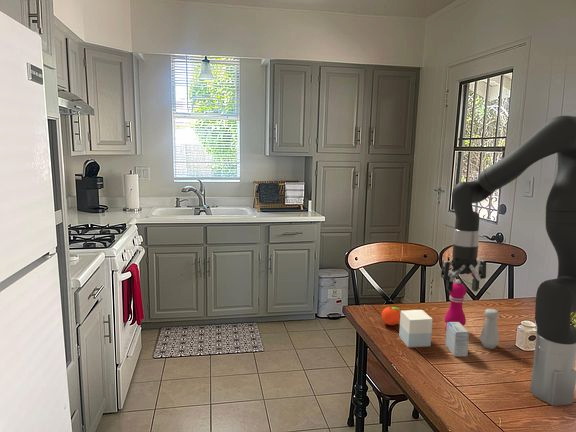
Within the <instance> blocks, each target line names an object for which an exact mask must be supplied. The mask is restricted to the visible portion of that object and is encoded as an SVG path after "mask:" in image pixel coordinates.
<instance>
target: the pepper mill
mask: <svg viewBox="0 0 576 432" xmlns="http://www.w3.org/2000/svg"><path fill="white" fill-rule="evenodd" d="M448 294H449V298H448V299H449V301H450V304H449V307H448V310H447V311H446V313H445V316H444V322H445V325H444V327H445V328H444V330H445V331H446V328H447V322H460V324H461V325H462V326H463V327H464V326H465V325H466V324H467V323H466V315H465V312H464V310H463V303H464V302H465V297H464V296H466V294H467V288H466V286H465V285H464V284H463V283H461V279H455V282H453V292H449V291H448Z"/></svg>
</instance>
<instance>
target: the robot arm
mask: <svg viewBox="0 0 576 432" xmlns="http://www.w3.org/2000/svg"><path fill="white" fill-rule="evenodd" d="M554 154H557V171H556V176H555V179H554V182H553V185H552V186H551V189H550V190H549V193H548V197H547V200H546V205H545V230H546V233H547V236H548V238H549V240H550V242H551V244H552V246H553V248H554V250H555V253H556V255H557V261H558V262H557V263H558V264H557V265H558V266H557V278H552V279H548V280H544V281H543V282H541V283H540V285H539V286H538V287H537V291H536V293H535V294H536V295H535V305H534V306H535V307H534V308H535V310H534V320H535V325H536V336H535V345H534V354H533V362H532V369H531V370H532V371H531V378H530V379H531V380H530V388H529V389H530V392H531V394H532V395H534V397H536V398H537V399H539V400H541V401H543V402H545V403H548V404H550V405H551V406H563V405H564V406H565V405H573V404H574V397H575V391H576V390H575V389H576V369H575V364H576V327H575V326H573V325H571V317H572V316H571V315H572V314H573V313H576V116H574V115H573V116H572V115H558V116H555V117H552V118H551V119H550V120H549V121H547V122H546V123H545V124H543V126H541V127H540V128H539V129H538V130H537V131H535V132H534V133H533V134H532V135H531V136H530V137H529V138H528V139H526V140H525V141H524V142H522V144H520V145H519V146H517V148H515V149H513V150H512V151H511V152H510V153H508V154H507V155H505V156H504V157H503V158H501V159H499V160H498V161H496V162H494V163H493V164H491V165H490V166H488V167H486V168H485V169H484V170H482V171H481V172H480V173H479V175H478V178H476V179H474V180H472V181H461V182H458V183H457V184H455V186H454V188H453V190H452V194H451V197H452V198H451V199H452V204H453V210H454V213H455V222H454V223H455V224H454V232H453V238H452V239H453V240H452V253H451V254H452V259H451V260H446V259H444V260H442V263H441V271H440V272H441V273H440V277H441V278H442V279H444V280H445V281H446V283H445V289H446V290H447V292H448V293H449V292H453V283H454V279H456V278H457V277H458V276H459V275H465V274H466V275H471V277H472V281H471V291H473V292H478V291H479V289H480V281H481V280H482V279H483V280H485V279H486V278H487V261H485V260H484V259H481V258H480V259H478V257H479V255H478V254H479V243H480V240H479V239H480V234H479V231H480V230H479V229H480V214H479V213H478V212H476V211H474V208H473V204H478V203H480V202H483V201H484V200H485V201H486V199H488V198H489V197H490V196H491V195H492V194H494V193H495V192H496V191H497V190H499V189H501V188H503V187H504V186H507V185H508V184H510V183H511V182H513V181H515V180H516V179H517V178H519V177H520V176H521V175H522V174H523V173H524V172H525V171H526V170H527V169H528V168H529V167H530V166H533V164H535V163H537V162H538V161H540V160H542V159H545V158H547V157H549V156H552V155H554ZM477 259H478V260H477ZM451 266H452V267H451ZM477 266H478V270H476V267H477Z"/></svg>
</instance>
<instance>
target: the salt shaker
mask: <svg viewBox="0 0 576 432" xmlns="http://www.w3.org/2000/svg"><path fill="white" fill-rule="evenodd" d="M484 316H485V321H484V322H483V323H484V324H483V328H482V330H481V332H480V335H479V339H480V342H481V345H482V347H484V348H486V349H489V350H490V349H492V350H494V349H495V348H496V347H497V346H498V344H499V343H500V337H499V329H498V320H497V319H498V318H499V316H500V313H499V311H498V310H497V309H494V308H486V309H485V310H484Z"/></svg>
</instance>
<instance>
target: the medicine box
mask: <svg viewBox="0 0 576 432" xmlns="http://www.w3.org/2000/svg"><path fill="white" fill-rule="evenodd" d="M446 324H447V328H446V330H445V332H446V333H445V346H446V348H447V349H448V350H449V351H450V352H451V354H452V355H453V356H454V357H468V353H469V350H468V349H469V335H470V332H469V330H467V328H466V327H464V326H462V325H461V324H460V322H447V323H446Z"/></svg>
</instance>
